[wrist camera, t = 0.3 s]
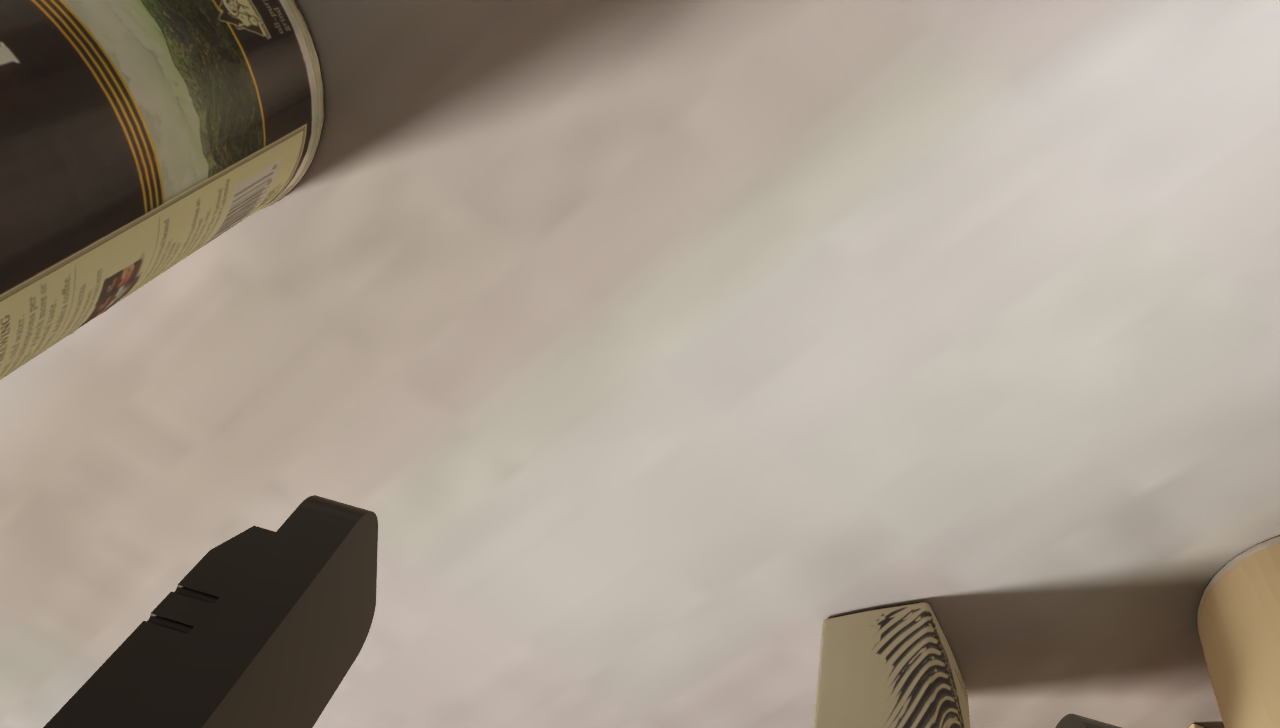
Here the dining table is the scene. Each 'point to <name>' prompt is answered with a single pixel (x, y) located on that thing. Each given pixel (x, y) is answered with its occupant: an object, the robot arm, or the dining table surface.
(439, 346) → the dining table surface
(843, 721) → the box
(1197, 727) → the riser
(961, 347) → the dining table surface
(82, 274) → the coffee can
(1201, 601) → the coffee cup
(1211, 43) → the dining table surface
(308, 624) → the robot arm
